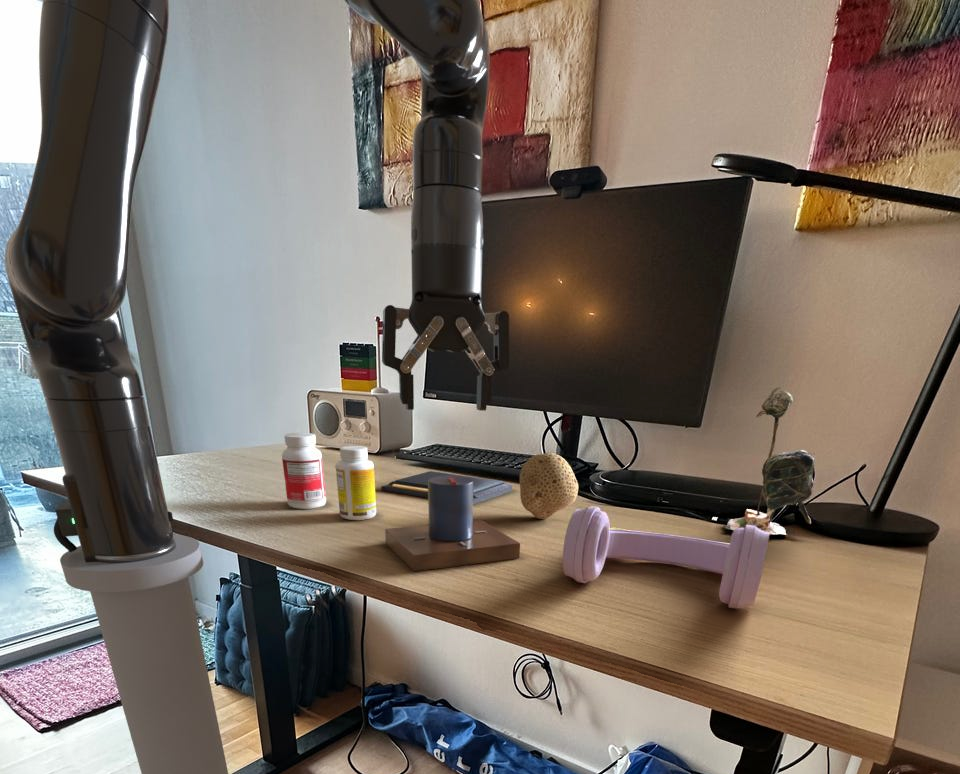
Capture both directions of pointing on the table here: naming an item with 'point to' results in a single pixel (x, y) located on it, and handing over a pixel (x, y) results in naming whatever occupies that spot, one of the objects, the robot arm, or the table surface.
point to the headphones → (666, 553)
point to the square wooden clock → (450, 547)
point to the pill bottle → (303, 472)
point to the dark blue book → (419, 483)
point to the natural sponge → (547, 485)
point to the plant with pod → (780, 475)
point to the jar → (450, 508)
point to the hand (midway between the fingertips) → (445, 409)
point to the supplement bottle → (355, 484)
